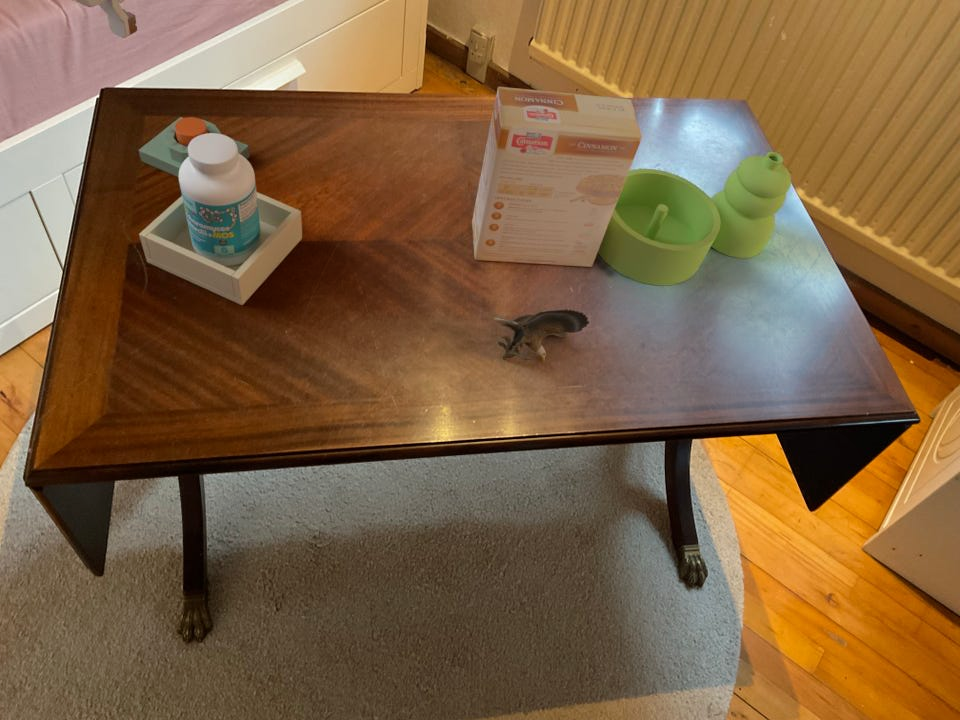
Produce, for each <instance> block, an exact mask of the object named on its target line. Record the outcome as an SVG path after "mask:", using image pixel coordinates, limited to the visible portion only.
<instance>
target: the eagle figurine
mask: <svg viewBox="0 0 960 720" xmlns="http://www.w3.org/2000/svg"><path fill="white" fill-rule="evenodd" d="M493 321H494V322H496V323H497V324H499V325H500V326H502V327H506V328H509V329H510V330H512V331H513V332H514V336H513V339H512V338H511V337H510V336H508V335H501V336H500V338H501V339H504V340H505V342H506V344H505V343H504V342H502V341H497V345H498V346H500V347H502V348H503V349H504V350H505V351H504V354H503V355H502V360H506V359H513V358H514V357H517V358H519V359H521V360H524V361H526V362H527V361H530V360H531V357H530V356H528V355H526V354H523V352H522V348H523V347H524V345H525V346H526V347H527V348H529V350H531V351H533V352H534V353H536V354H537V356H538V357H540V359H541V362H545V360H546V355H547V354H546V353H547V352H546V350H545V348H544V346H543V345H542V341H543V339H545V338H546V337H548V336H556V337H560V338H565V334H566V333H569V334H572V333H573V334H574V333H579V332H582V331H583V329H585V328H586V327H587V326H588V325H589V324H590V321H589V317H588V316H587V314H584V312H581V311H579V310H574V309H556V310H547V311H540V312H538V313H535V314H526V315H523V316H520V317H517V318H515V319H513V320H510V319H505V318H499V317H494V319H493Z"/></svg>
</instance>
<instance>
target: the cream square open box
mask: <svg viewBox="0 0 960 720" xmlns="http://www.w3.org/2000/svg"><path fill="white" fill-rule="evenodd" d="M256 192H257V202H258V212H259V222H260V232H261V244H260V247H259V248H258V249H257V250H256V251H255V252H254V253H253V254H252V255H251V256H250V257H249V258H248V259H247V260H246V261H245V262H243V263H240V264H237V265H231V266H223V265H221V264H218V263H216V262H214V261H212V260H210V259H207V258H205V257H203V256H201V255H198V254H197V253H196V252H195V250H194V248H193V245H192V241H191V237H190V232H189V227H188V222H187V217H186V213H185V208H184V203H183V198H182V195H181V196H180V197H178V199H176V200H175V201H174V202H173V203H172V204H171V205H170V206H168V207H167V208H166V209H165V210H164V211H163V212H162V213H161V214H160V215H159V216H157V217H156V218H155V219H154V220H152V222H151V223H150V224H148V225H147V226H146V227H145V228H144V229H142V231H141V232H140V233H138V236H139V240H140V242H141V243H140V244H141V246H142V250H143V253H144V257H145V260H146V263H148V264H150V265H152V266H154V267H157V268H159V269H161V270H163V271H165V272H168V273H170V274H172V275H174V276H176V277H179V278H181V279H183V280H185V281H188V282H189V283H192V284H194V285H197V286H198V287H201V288H203V289H205V290H207V291H209V292H212V293H214V294H216V295H218V296H221V297H223V298H225V299H227V300H229V301H232V302H234V303H236V304H238V305H239V306H243V305H244V304H245V303H246V302H247V301H248V300H249V299H250V298H251V296H253V294H254V293H255V292H256V291H257V290H258V289H259V287H260V286H261V285H263V283H264V282H265V281H266V280H267V279H268V278H269V276H270V275H271V274H272V273H273V272H274V271H275V269H276V268H277V267H278V266H279V265H280V264H281V263H282V262H283V261H284V259H285V258H286V257H287V256H288V255H289V254H290V253H291V252H292V250H294V248H295V247H296V246H297V245H298V244H299V243H300V242H301V241H302V239H303V223H302V211H301V210H299V209H297V208H295V207H293V206H290V205H288V204H286V203H284V202H282V201H279V200H276V199H274V198H271V197H269V196H267V195H265V194H263V193H260V192H258V191H256Z"/></svg>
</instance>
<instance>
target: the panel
mask: <svg viewBox="0 0 960 720" xmlns="http://www.w3.org/2000/svg"><path fill="white" fill-rule="evenodd" d="M183 118H184V117H182V116H180V117H178V118H177V119H176V120H174V121H173V122H172V123H171V124H170V125H168V126H167V127H166V128H164V129H163V130H162V131H161V132H159V133H158V134H157V135H155V136H154V137H153V138H152V139H150V140H149V141H148V142H147V143H145V144H144V145H143V146H142V147H141V148H139V149H138V154H139V158H140V161H141V162H142V163H145V164H147V165H149V166H152V167H153V168H156V169H158V170H160V171H163V172H165V173H167V174H169V175H172V176H175V177H176V178H179V169H180V167H181V165H182V163H183V162H184V160H185V159H186V158H187V157H189V155H188V146H183V145H181V144H180V143H179V142H178V140H177V136H176V131H175V124H176V123H177V122H178V121H179V120H181V119H183ZM200 119H201V118H200ZM201 120H203V121H204V122H205V123H206V125H207V131H208V133H218V134H222V132H221V131H220V129H219V128H218V127H217V125H216V124H214V123H212V122H210V121H207V120H205V119H201ZM230 138H231V137H230ZM231 139H232V140H233V141H234V142H235V143H236V145H237V148H238V153H239V154H240V155H242V156H243V157H244V158H246V159H247V160H248V159H249V158H250V157H251V154H250V153H251V152H250V145H248V144H246V143H243V142H241V141H239V140H236V139H234V138H231Z"/></svg>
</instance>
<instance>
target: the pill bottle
mask: <svg viewBox="0 0 960 720" xmlns="http://www.w3.org/2000/svg"><path fill="white" fill-rule="evenodd" d="M232 139H233V138H232ZM232 139H231V137H230V136H227V135H225V134H222V133H221V134H218V133H207V134H202V135H199V136H197V137H195V138H194V139H193V140H192V141H191V142H190V143H189V145H188V155H189V157H187V158H186V159H185V160H184V162H183V163H182V165H181V167H180V169H179V177H178V183H179V189H180V193H181V196H182V198H183V203H184V208H185V213H186V217H187V222H188V227H189V232H190V237H191V241H192V245H193V248H194V250H195V252H196V253H197V254H198V255H201V256H203V257H205V258H207V259H210V260H212V261H214V262H216V263H218V264H221V265H223V266H231V265H237V264H240V263H243V262H245V261H246V260H247V259H248V258H249V257H250V256H251V255H252V254H253V253H254V252H255V251H256V250H257V249H258V248H259V247H260V244H261V232H260V222H259V212H258V202H257V192H258V191H257V185H256V176H255V170H254V168H253V166H252V164H251V162H250V161H249V160H248V159H246V158H244V157H243V156H242V155H240V154H239V153H238V148H237V145H236V143H235V142H234V141H233V140H232Z"/></svg>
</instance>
